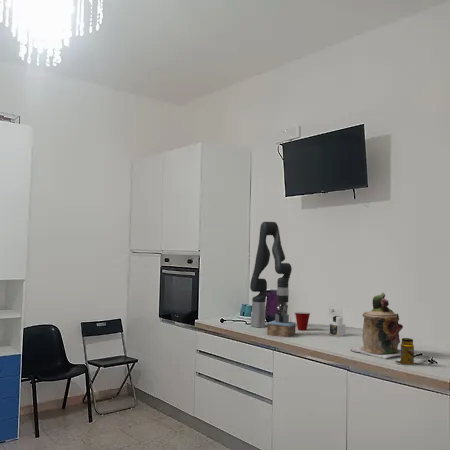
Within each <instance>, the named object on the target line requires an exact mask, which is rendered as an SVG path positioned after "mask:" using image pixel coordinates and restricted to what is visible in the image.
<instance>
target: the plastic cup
mask: <svg viewBox="0 0 450 450" xmlns="http://www.w3.org/2000/svg"><path fill="white" fill-rule="evenodd" d="M294 315H295V322H296V326H297V330H298V331H307V330H308V326H309V319H310V316H311V312H307V311H306V312H304V311H295V312H294Z"/></svg>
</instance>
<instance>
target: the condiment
mask: <svg viewBox="0 0 450 450" xmlns="http://www.w3.org/2000/svg"><path fill="white" fill-rule="evenodd" d="M400 349H401V356H400V360H394V362H395V364H397V365H403V366H405V365H406V366H414V365H413V364H415V362H414V361H415V360H414V359H415V345H414V339H413V338H409V337H403V338H401V342H400Z"/></svg>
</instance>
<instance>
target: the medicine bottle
mask: <svg viewBox="0 0 450 450" xmlns="http://www.w3.org/2000/svg"><path fill="white" fill-rule="evenodd" d="M343 320H344V319H343V317H342V316H340V315H334V316H333V317H332V323H329V335H330V334H331V335H330V336H333V335H335V337H344V336H343V335H345V336H346V327H347V326H346V324H345V323H343V322H344V321H343Z"/></svg>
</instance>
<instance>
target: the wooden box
mask: <svg viewBox="0 0 450 450" xmlns="http://www.w3.org/2000/svg"><path fill="white" fill-rule="evenodd" d="M266 328H267V329H266V332H267V333H266V335H267V336H272V337H280V338H281V337H283V338H290V337H292V336H294V335H296V324H295V325H294V326H291V327H289V326H283V325H273V324H268V323H267V327H266Z"/></svg>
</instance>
